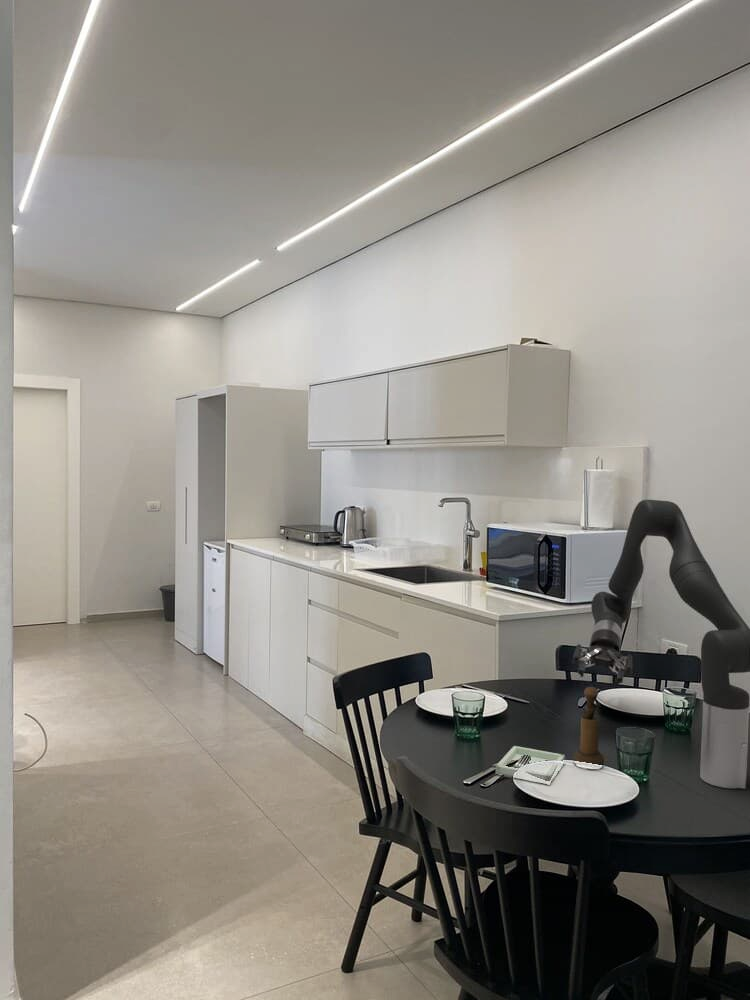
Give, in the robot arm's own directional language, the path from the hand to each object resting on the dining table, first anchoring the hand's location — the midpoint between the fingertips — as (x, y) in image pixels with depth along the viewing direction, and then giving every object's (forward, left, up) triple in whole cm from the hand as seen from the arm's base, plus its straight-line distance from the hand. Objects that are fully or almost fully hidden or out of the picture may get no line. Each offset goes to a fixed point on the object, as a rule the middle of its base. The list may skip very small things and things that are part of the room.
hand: (600, 677), depth 196 cm
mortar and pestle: (-1, +14, -17) cm, 22 cm away
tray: (+10, +23, -17) cm, 30 cm away
